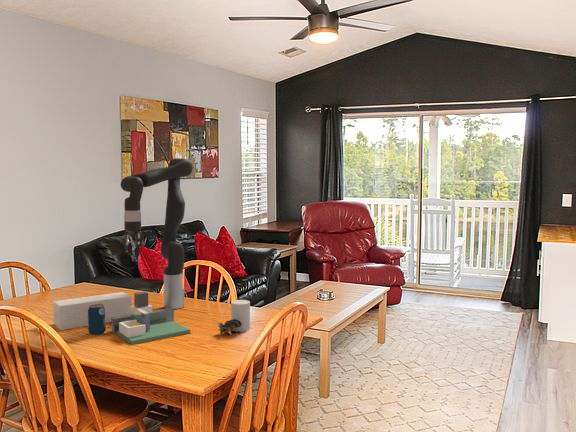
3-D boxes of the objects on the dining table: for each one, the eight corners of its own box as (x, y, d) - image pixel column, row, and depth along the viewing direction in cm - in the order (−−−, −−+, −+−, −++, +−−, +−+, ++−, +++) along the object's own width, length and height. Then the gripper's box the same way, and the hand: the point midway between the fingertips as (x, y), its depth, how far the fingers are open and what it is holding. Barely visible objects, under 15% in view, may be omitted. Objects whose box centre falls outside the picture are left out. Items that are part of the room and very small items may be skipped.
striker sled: (147, 319, 249) (147, 290, 248) (162, 327, 237) (162, 297, 236) (130, 322, 244) (130, 293, 243) (145, 330, 232) (144, 299, 231)
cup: (252, 327, 245) (252, 300, 244) (245, 332, 238) (245, 305, 237) (236, 325, 248) (236, 299, 247) (228, 330, 240) (228, 303, 239)
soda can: (108, 333, 235) (108, 305, 233) (93, 337, 230) (92, 308, 229) (100, 330, 239) (100, 303, 238) (85, 333, 234) (84, 305, 233)
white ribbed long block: (60, 330, 239) (59, 306, 238) (53, 324, 248) (53, 301, 247) (131, 318, 259) (131, 296, 258) (123, 313, 267) (122, 291, 266)
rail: (170, 320, 255) (170, 307, 255) (173, 321, 253) (173, 309, 252) (111, 331, 238) (111, 317, 237) (114, 332, 235) (113, 319, 235)
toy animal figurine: (226, 336, 229) (244, 328, 234) (219, 320, 231) (237, 313, 236) (220, 341, 235) (238, 334, 240) (214, 326, 237) (232, 319, 242)
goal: (136, 328, 237) (135, 319, 236) (145, 334, 229) (145, 324, 229) (119, 331, 232) (118, 322, 232) (128, 337, 224) (128, 328, 224)
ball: (130, 324, 232) (133, 332, 233) (133, 326, 229) (137, 334, 230) (138, 319, 234) (141, 327, 235) (142, 321, 231) (145, 330, 232)
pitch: (173, 324, 249) (173, 321, 249) (190, 332, 236) (190, 329, 236) (117, 334, 233) (117, 331, 233) (132, 344, 220) (132, 341, 220)
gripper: (146, 220, 251) (147, 256, 252) (134, 218, 262) (134, 252, 263) (131, 221, 246) (131, 257, 248) (118, 219, 257) (119, 253, 259)
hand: (133, 254), depth 256 cm, fingers open, 8 cm apart
